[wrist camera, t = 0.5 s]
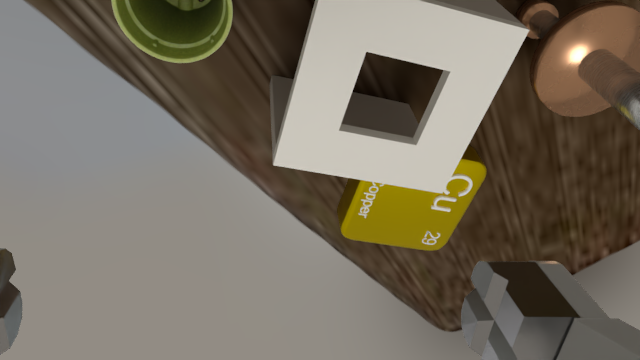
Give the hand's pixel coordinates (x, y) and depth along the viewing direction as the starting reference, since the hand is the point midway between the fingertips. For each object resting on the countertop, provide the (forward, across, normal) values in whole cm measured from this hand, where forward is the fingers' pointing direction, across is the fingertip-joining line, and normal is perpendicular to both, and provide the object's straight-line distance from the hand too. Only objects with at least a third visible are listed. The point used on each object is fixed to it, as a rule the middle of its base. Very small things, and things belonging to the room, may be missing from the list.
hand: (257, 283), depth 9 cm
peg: (+45, -29, 0) cm, 53 cm away
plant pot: (+45, +7, 0) cm, 45 cm away
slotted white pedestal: (+45, -11, +4) cm, 47 cm away
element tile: (+49, -20, +23) cm, 58 cm away
